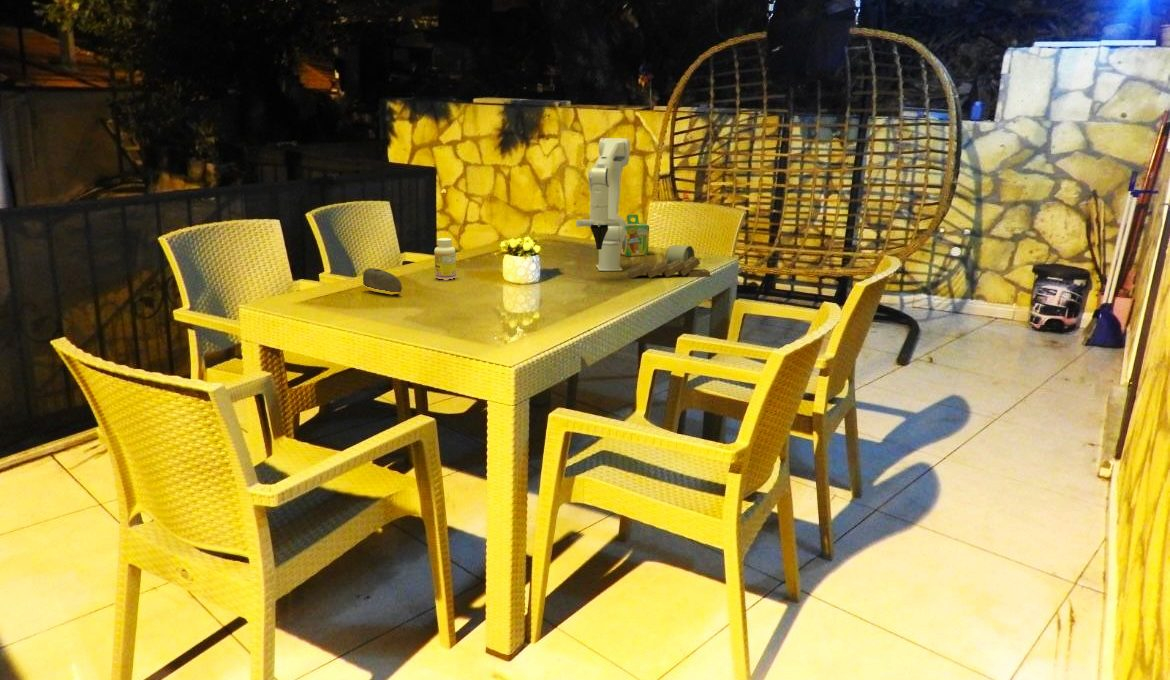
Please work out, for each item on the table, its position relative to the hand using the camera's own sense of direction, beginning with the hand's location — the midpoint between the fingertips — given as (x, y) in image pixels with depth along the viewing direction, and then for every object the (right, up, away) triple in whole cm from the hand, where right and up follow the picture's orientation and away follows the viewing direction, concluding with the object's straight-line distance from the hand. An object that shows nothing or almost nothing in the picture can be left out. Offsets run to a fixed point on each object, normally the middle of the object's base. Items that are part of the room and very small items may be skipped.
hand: (598, 249), depth 271 cm
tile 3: (+21, -7, +8) cm, 24 cm away
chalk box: (+14, +3, +48) cm, 50 cm away
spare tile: (+10, -8, +7) cm, 14 cm away
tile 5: (+29, -7, +10) cm, 32 cm away
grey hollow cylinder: (+28, -4, +25) cm, 37 cm away
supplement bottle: (-49, -10, +2) cm, 50 cm away
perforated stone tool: (-64, -16, -19) cm, 68 cm away
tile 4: (+27, -7, +9) cm, 29 cm away
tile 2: (+16, -7, +7) cm, 19 cm away
